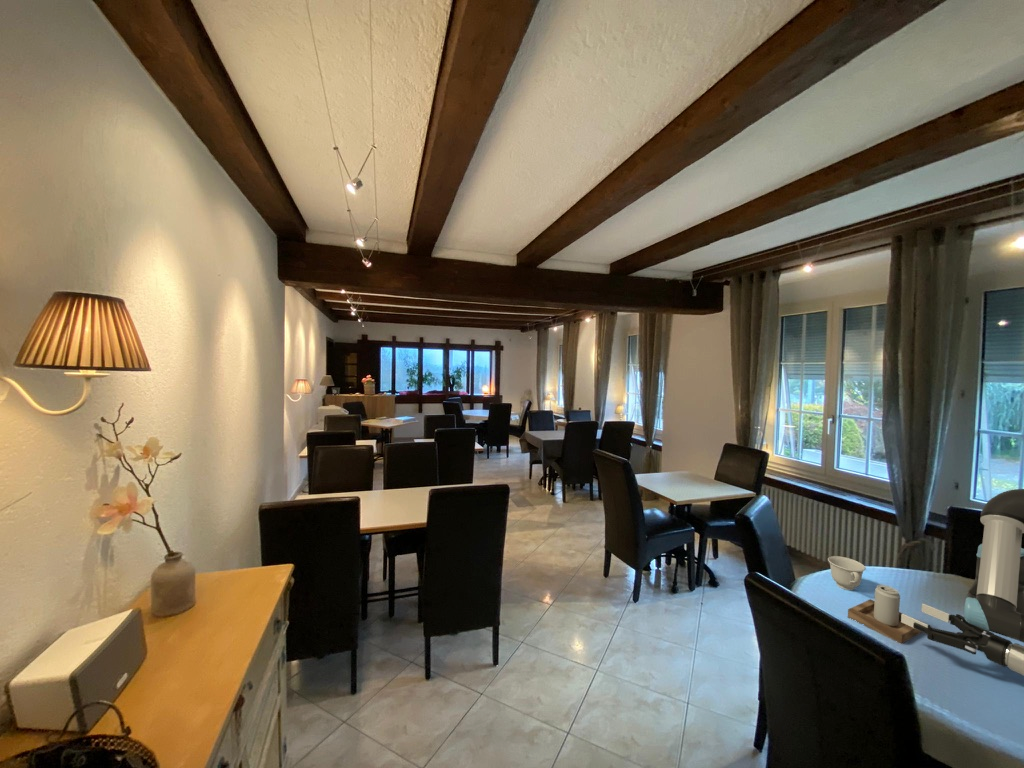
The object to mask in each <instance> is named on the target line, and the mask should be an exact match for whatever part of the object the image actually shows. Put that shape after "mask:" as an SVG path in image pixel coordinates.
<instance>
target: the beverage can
mask: <svg viewBox="0 0 1024 768" xmlns="http://www.w3.org/2000/svg"><path fill="white" fill-rule="evenodd" d="M874 601H875V602H874V618H875V619H876V620H877V621H880V622H882V623H884V624H886V625H888V626H897V625H898V623H899V612H900V605H901V595H900V592H899V590H898V589H896V588H894V587H892V586H889V585H885V584H878V585H876V588H875V589H874Z"/></svg>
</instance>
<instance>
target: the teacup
mask: <svg viewBox="0 0 1024 768" xmlns="http://www.w3.org/2000/svg"><path fill="white" fill-rule="evenodd" d="M827 561H828V562H829V566H830V575H831V578H832V579H833V581H834V582H836V583H835V584H836V586H837V587H838V588H841V589H843V590H847V591H854V590H855V588H856V587H858V586H860V584H861V581H862V577H863V574H864V571H866V570H867V569H866V568H867V567H866V566H865V565H864V564H863V563H861V562H859V561H857V560H855V559H853V558H849V557H844V556H839V555H832V556H829V557H828V558H827Z"/></svg>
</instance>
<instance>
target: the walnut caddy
mask: <svg viewBox="0 0 1024 768" xmlns="http://www.w3.org/2000/svg"><path fill="white" fill-rule="evenodd" d="M874 602H875V600H874V599H867V600H866V601H863V602H861V603H858V604H857V605H855V606H852V607H850V608H847V618H848V619H850V618H851V619H850V620H852V619H853V620H852V621H854V620H856V621H857V623H858V622H859V623H858V624H861V625H862V624H864V625H865V626H864V625H863V626H864V627H866V628H868V629H871V630H872V631H874V632H876V633H878V634H880V635H882V636H884V637H887V638H888V639H890V638H891V640H892V639H893V641H895V642H896V641H897V642H896V643H898V644H900V645H902V644H904V643H906V642H908V641H909V640H911V639H913V638H914V637H916V636H918V635H919V634H921V633H923V632H921V631H919V630H917V629H915V628H913V627H911V626H908V625H906V624H904V623H902V622H901V614H904V613H903V612H901V611H899V623H898V625H897V626H888V625H886V624H884V623H882V622H880V621H877V620H876V619H875V618H874ZM910 617H911V618H913V617H912V616H910ZM917 620H918V619H917ZM856 621H855V622H856ZM918 621H920V620H918ZM920 622H922V621H920Z"/></svg>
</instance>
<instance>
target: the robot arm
mask: <svg viewBox="0 0 1024 768" xmlns="http://www.w3.org/2000/svg"><path fill="white" fill-rule="evenodd" d="M979 520H980V523H981V524H982V525H983V535H982V536H983V537H982V543H980V544H979V545H978V547H977V553H976V567H975V568H976V569H975V579H974V581H973V582H972V583H971V585H970V586H969V588H968V589H967V597H966V598H965V602H964V609H963V616H962V615H961V614H959V613H957V614H951V613H947V612H945V611H943V610H941V609H938V608H936V607H933V606H930V605H928V604H925V603H921V612H922V613H923V614H926V615H929V616H931V617H933V618H935V619H938V620H941V621H943V622H945V623H947V624H948V623H950V625H951V626H955V627H956V628H957V629H959V630H960V631H958V632H954V631H948V630H944V629H939V628H935V627H932V626H931V625H930V624H927V623H925V622H923V621H921V622H920V620H919V621H918V619H916V618H913V617H912V616H909V615H906V614H905V613H903V614H901V622H902V623H904V624H906V625H908V626H911V627H913V628H915V629H917V630H919V631H921V632H922V633H923V634H926V635H927V637H926V638H927V639H928V640H930V641H933V642H935V643H939V644H943V645H946V646H950V647H953V648H956V649H958V650H962V651H965V652H967V653H969V654H972V655H976V654H977V651H979V652H981V653H983V654H984V655H985V658H986V659H987V660H988V661H991V662H993V663H995V664H998V665H999V666H1002V667H1003V668H1004V667H1005V668H1007V667H1008V668H1009V670H1011V671H1013V672H1015V673H1018V674H1020V675H1021V676H1023V677H1024V645H1022V644H1019V643H1016V642H1015V643H1013V642H1012V641H1011V640H1010V639H1012V640H1016V641H1018V642H1021V643H1024V548H1022V541H1023V540H1022V537H1023V534H1024V488H1015V489H1009V490H1005V491H1002V492H1001V493H1000V492H999V494H997V495H995V496H993V497H991V498H990V499H989V500H988V501H987V502H986V503H985V505H984V506H983V508H982V509H981V512H980V519H979ZM911 617H912V618H911ZM997 634H998V635H997ZM1002 636H1003V637H1002ZM1004 637H1006V638H1004ZM1007 638H1009V639H1007Z"/></svg>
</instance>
